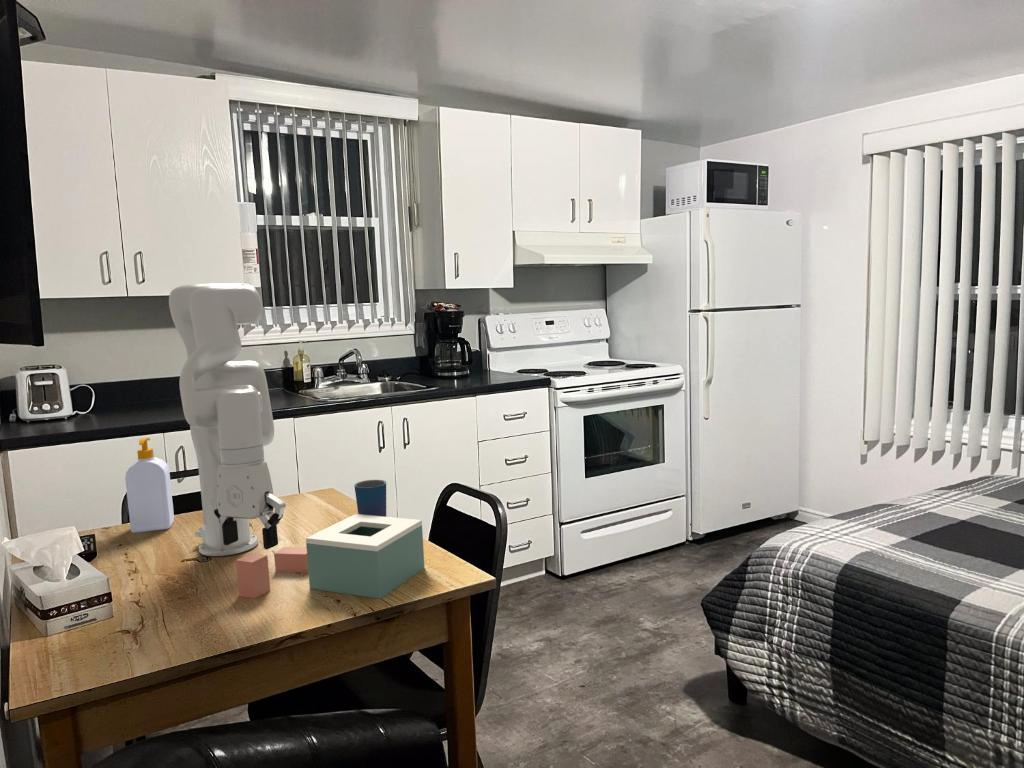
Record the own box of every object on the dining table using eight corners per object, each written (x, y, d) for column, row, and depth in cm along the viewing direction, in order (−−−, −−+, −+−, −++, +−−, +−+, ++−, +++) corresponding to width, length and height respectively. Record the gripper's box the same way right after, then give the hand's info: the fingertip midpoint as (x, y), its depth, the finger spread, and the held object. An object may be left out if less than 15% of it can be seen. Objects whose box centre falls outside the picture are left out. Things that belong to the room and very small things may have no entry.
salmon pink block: (238, 595, 139) (235, 560, 138) (254, 587, 143) (251, 553, 142) (255, 598, 137) (252, 562, 136) (270, 590, 141) (267, 555, 140)
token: (275, 572, 151) (273, 553, 150) (285, 565, 155) (283, 546, 154) (307, 573, 150) (305, 554, 149) (316, 566, 153) (314, 547, 153)
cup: (383, 556, 157) (379, 487, 155) (353, 555, 158) (349, 487, 156) (395, 545, 163) (390, 479, 162) (366, 544, 165) (361, 479, 163)
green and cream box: (309, 588, 141) (305, 538, 140) (358, 559, 155) (355, 513, 154) (380, 598, 134) (376, 546, 133) (424, 567, 149) (421, 520, 148)
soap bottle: (130, 534, 180) (120, 442, 178) (136, 526, 187) (126, 437, 184) (170, 529, 183) (160, 439, 180) (174, 521, 190) (165, 434, 187)
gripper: (192, 458, 137) (201, 547, 138) (264, 461, 130) (273, 555, 131) (222, 450, 144) (230, 535, 145) (293, 452, 137) (300, 542, 138)
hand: (250, 545), depth 138 cm, fingers open, 9 cm apart
